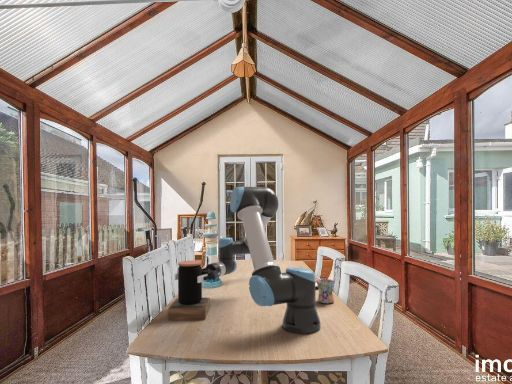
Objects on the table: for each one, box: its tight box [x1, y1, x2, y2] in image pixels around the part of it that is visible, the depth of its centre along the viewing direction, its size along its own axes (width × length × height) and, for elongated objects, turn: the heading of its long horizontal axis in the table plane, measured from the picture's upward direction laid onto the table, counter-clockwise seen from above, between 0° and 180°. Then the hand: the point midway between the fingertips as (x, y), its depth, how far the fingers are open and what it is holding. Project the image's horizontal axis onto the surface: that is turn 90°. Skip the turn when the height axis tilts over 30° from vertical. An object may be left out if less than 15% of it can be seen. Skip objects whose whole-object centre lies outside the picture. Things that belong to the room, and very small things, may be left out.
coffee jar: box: [177, 260, 203, 305], centre depth 151 cm, size 11×11×18 cm
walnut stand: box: [167, 297, 211, 321], centre depth 150 cm, size 16×16×5 cm
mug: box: [316, 278, 336, 304], centre depth 168 cm, size 12×9×11 cm
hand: (186, 278), depth 148 cm, fingers open, 13 cm apart
